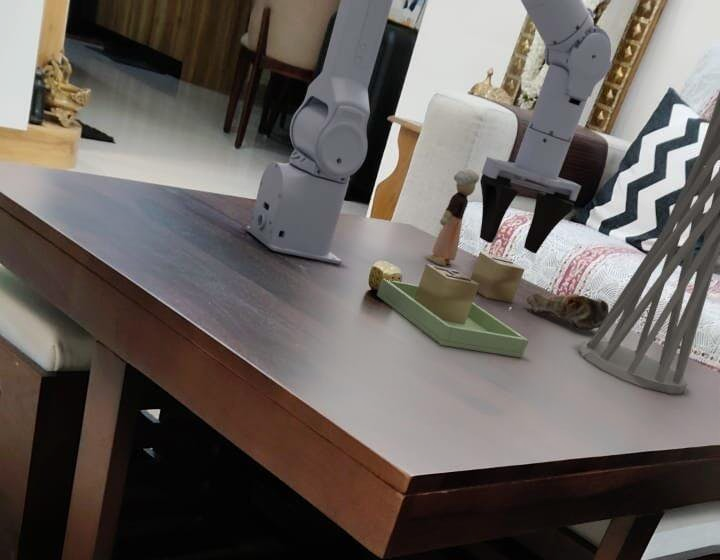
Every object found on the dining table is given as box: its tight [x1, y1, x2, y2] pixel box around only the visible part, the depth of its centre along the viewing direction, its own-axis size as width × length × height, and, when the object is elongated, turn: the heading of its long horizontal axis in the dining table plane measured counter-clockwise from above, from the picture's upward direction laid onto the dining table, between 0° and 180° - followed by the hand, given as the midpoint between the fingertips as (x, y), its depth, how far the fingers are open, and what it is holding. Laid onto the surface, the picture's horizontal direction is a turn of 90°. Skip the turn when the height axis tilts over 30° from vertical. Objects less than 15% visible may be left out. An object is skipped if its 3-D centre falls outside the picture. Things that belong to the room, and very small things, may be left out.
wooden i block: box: [470, 251, 526, 304], centre depth 131 cm, size 4×4×5 cm
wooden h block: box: [414, 263, 479, 324], centre depth 110 cm, size 4×4×5 cm
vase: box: [578, 90, 720, 395], centre depth 112 cm, size 14×13×35 cm
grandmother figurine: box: [427, 167, 480, 267], centre depth 138 cm, size 8×4×13 cm, turn 168°
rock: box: [526, 292, 610, 331], centre depth 131 cm, size 9×6×10 cm
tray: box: [376, 278, 530, 358], centre depth 110 cm, size 11×14×2 cm
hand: (508, 245), depth 129 cm, fingers open, 7 cm apart
